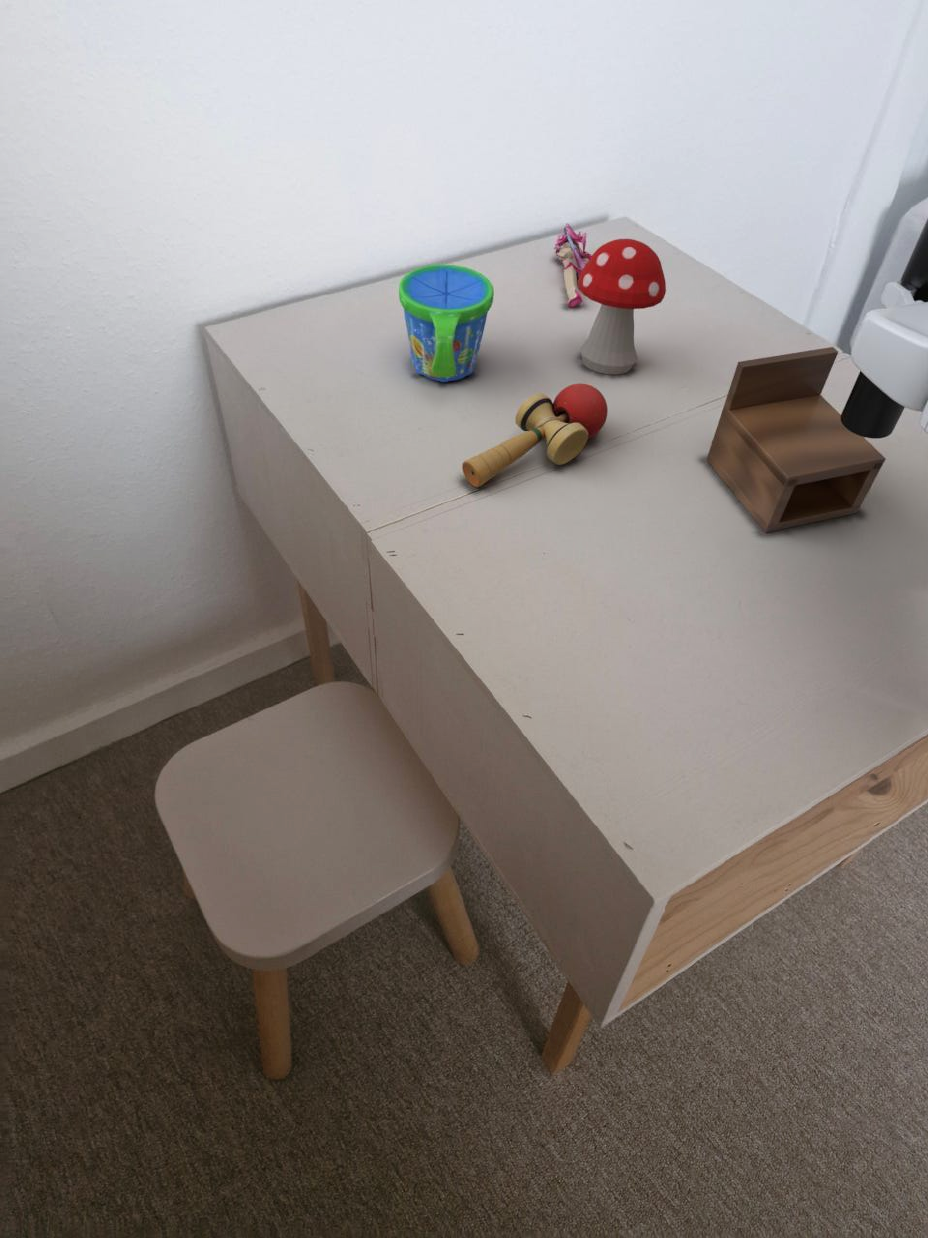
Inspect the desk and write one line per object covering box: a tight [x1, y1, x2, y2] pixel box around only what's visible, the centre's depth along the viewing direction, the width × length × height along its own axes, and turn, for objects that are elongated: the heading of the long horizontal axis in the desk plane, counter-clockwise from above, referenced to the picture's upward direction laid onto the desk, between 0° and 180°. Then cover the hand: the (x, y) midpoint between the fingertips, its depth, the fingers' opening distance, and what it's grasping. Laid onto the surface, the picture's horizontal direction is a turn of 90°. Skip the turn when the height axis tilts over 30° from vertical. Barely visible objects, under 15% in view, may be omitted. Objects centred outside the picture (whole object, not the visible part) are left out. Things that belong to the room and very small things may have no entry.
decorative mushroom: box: [577, 238, 667, 376], centre depth 98 cm, size 10×9×15 cm
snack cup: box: [398, 264, 495, 383], centre depth 97 cm, size 16×10×10 cm
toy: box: [553, 222, 593, 308], centre depth 115 cm, size 7×6×15 cm
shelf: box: [706, 346, 886, 533], centre depth 85 cm, size 12×11×12 cm
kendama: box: [461, 382, 609, 488], centre depth 89 cm, size 8×6×18 cm
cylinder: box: [840, 218, 928, 440], centre depth 68 cm, size 5×5×22 cm
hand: (921, 285), depth 67 cm, fingers closed on cylinder, 4 cm apart
